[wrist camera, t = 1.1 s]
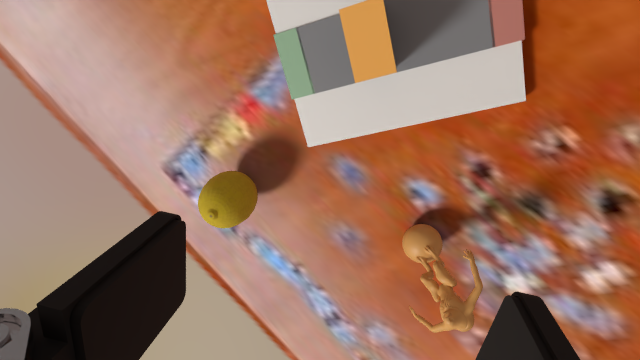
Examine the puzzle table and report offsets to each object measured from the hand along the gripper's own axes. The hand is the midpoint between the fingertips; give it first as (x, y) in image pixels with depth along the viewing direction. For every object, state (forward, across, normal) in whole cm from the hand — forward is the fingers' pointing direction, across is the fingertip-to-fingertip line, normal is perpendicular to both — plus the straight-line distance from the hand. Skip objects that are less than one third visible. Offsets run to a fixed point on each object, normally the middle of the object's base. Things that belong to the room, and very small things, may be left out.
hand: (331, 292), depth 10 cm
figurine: (+26, -9, +12) cm, 30 cm away
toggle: (+25, +1, -7) cm, 25 cm away
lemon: (+27, +12, +10) cm, 31 cm away
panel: (+26, -1, -7) cm, 27 cm away
